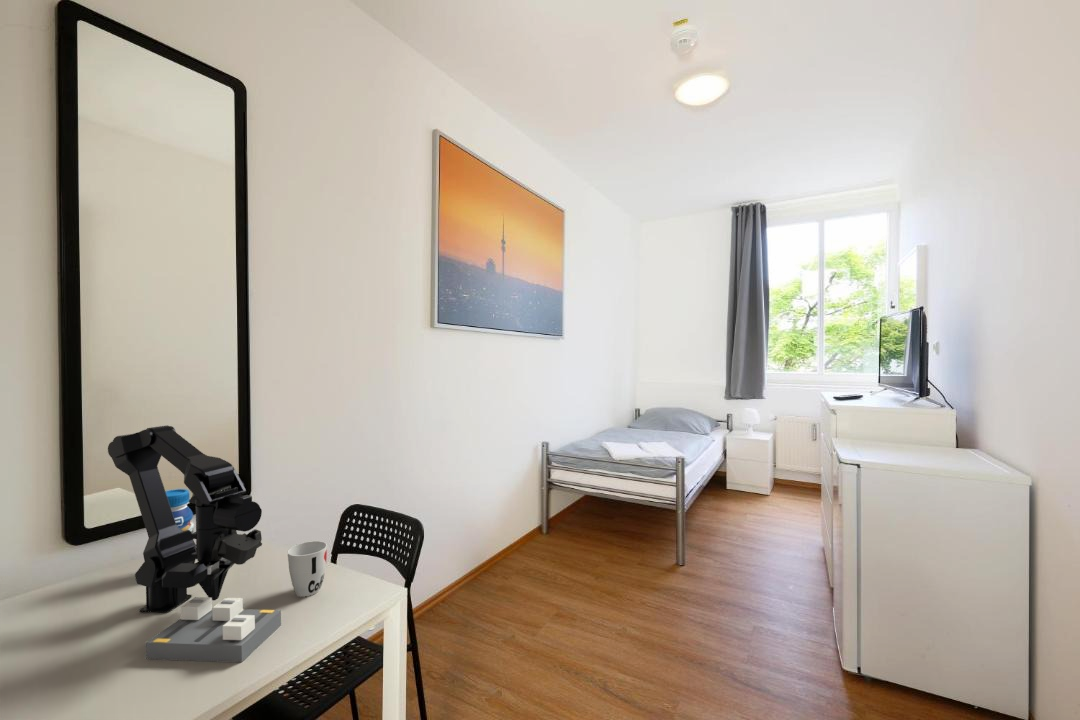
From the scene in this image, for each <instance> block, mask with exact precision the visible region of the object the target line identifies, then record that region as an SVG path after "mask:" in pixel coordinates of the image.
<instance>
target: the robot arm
mask: <svg viewBox="0 0 1080 720" xmlns="http://www.w3.org/2000/svg"><path fill="white" fill-rule="evenodd" d="M107 453H108V456H109V457H110V458H111V459H112V462H113V464H114V466H115V467H116V468H117V469H118V470H119V471H121V472H123V473H124V474H126V475H127V476H128V477H129V480H130V482H131V487H132V489H133V492H134V493H133V494H134V495H135V499H136V501H137V504H138V508H139V511H140V514H141V517H142V520H143V524H144V527H145V530H146V534H147V536H148V540H147V541H146V545H145V547H144V550H143V553H142V555H143V561H144V562H143V563H142V564H141V566H140V567H139V568H138V570H137V571H136V572H135V573H134V577H135V581H136V585H139V586H142V587H143V586H144V587H145V601H146V602H145V603H146V605H145V606H143V607H140V609H138V610H139V611H138V612H139V613H152V614H153V613H158V614H160V613H161V614H164V613H165V614H166V613H167V614H168V613H169V612H171V611H172V610H174V609H176V608H177V607H179V606H180V605H183V604H184V603H185V602H186V601H189V600H190V599H192V594H188V589H189V588H192V587H195V586H197V585H199V586H200V587H201V589H202V590H203V591H204V593H205V594H206V597H212V601H217V600H218V599H219V598H220V595H221V591H222V589H223V586H224V582H225V580H226V577H227V574H228V572H229V570H230V568H232V567H233V566H234V565H237V566H238V565H239V566H240V565H244V564H245V563H246V562H247V561H249V560H251V559H253V558H254V557H255V556H256V553H257V549H259V548H260V547H262V545H263V543H262V540H263V539H262V532H261V530H259V529H257V528H256V529H254V528H255V527H256V526H257V525H258V524H259V522H260V520H261V518H262V515H263V514H262V508H261V506H260V505H259V503H258V502H257V501H253V496H252V495H250V494H249V495H248V494H247V490H246V488H245V483H244V481H242V479H241V478H240V476H239V474H238V472H237V470H236V468H235V467H234V465H232V463H230V462H229V461H227V460H225V459H223V458H221V457H217V456H211V455H207V454H205V453H203V452H202V451H200V449H198V448H197V447H196V446H194V445H193V444H192V443H190V441H188V440H186V439H185V437H182V436H181V435H180V434H178V432H177V431H176V429H175V427H174V426H172V425H162V426H161V425H160V426H159V425H158V426H154V427H153V426H151V427H147V428H145V429H142V430H140V431H139V432H135V433H134V432H133V433H128V434H124V435H123V434H122V435H117V436H115V437H114V438H113V440H112V441H110V442H109V444H108V446H107ZM161 458H164V459H165V460H166V461H167V462H168V463H170V464H171V465H172V466H173V467H175V468H176V469H177V470H178V471H180V472H181V473H182V474H183V484H184V485H185V487H186V488H188V490H189V492H191V493H192V495H193V496H192V497H191V498H189V503H190V504H194V505H195V531H193V533H191V531H190V530H186V531H183V530H182V529H180V528H178V527H177V525H176V522H175V519H174V516H173V513H172V510H171V507H170V504H169V501H168V498H167V495H166V492H165V491H166V489H165V486H164V483H163V480H162V477H161V474H160V471H159V468H158V466H159V462H160V460H161ZM244 494H246V495H244ZM189 503H188V504H189ZM237 531H239V532H244V533H242V534H241V533H238V532H237ZM245 532H248V533H247V534H246V533H245ZM195 541H196V542H195ZM196 560H197V562H196Z"/></svg>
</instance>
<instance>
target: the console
mask: <svg viewBox="0 0 1080 720" xmlns="http://www.w3.org/2000/svg"><path fill="white" fill-rule="evenodd" d="M238 615H255V629H254V630H253V631H251V632H250V633H249V634H248V635H247V636H246V637H245V638H243V639H242V640H223V625H224V624H226V623H227V622H228V621H215V620H213V612H212V610H211V611H210V612H208V613H207V614H205V615H204V616H203V617H201V618H200V619H199V620H181V618H179V619H177V620H176V621H175V622H173V623H172V624H171V625H169V626H167V627H166V628H164V629H163V630H162V631H160V632H159V633H157V634H156V635H154V636H153V637H152V638H150V639H149V640H147V641H146V642H145V660H158V661H159V660H161V661H162V660H164V661H165V660H166V661H187V662H188V661H190V662H191V661H193V662H197V661H198V662H220V663H221V662H223V663H225V662H227V663H243V662H244V661H245V660H246V659H247V658H248V657H249V656H250V655H251V654H252V653H253V652H254V651H256V649H257V648H258V647H260V646H261V645H262V644H263V643H264V642H265V641H267V639H268V638H269V637H270V636H271V635H272V634H273V633H275V631H276V630H278V628H280V627H281V626H282V610H281V609H250V608H249V609H248V608H247V609H245V608H243V611H242V612H241V613H239V614H238Z"/></svg>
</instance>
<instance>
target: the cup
mask: <svg viewBox="0 0 1080 720" xmlns="http://www.w3.org/2000/svg"><path fill="white" fill-rule="evenodd" d="M327 554H328V544H327V542H325V541H322V540H311V541H304V542H302V543H301V542H300V543H299V544H296V545H293V546H291V547H290V548H289V549H288V550H287V560H288V570H289V572H288V573H289V575H290V581H291V585H292V587H293V590H294V593H295V594H296V596H297V597H299V596H300V597H299V598H306V597H305V596H307V597H311V596H314V595H316V594H317V592H318V591H319V590H321V589H322V585H323V582H324V579H325V573H326V567H327V556H328V555H327ZM319 592H320V591H319ZM319 592H318V593H319ZM315 593H316V594H315ZM313 594H314V595H313ZM310 595H311V596H310Z"/></svg>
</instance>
